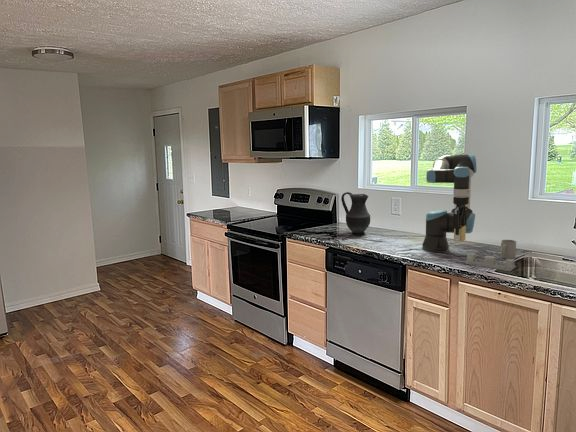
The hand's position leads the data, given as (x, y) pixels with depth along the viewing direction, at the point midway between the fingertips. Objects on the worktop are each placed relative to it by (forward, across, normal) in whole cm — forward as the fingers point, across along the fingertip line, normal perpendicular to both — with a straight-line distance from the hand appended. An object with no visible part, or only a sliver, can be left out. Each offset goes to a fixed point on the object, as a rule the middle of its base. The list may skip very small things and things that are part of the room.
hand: (459, 239), depth 225 cm
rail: (+11, -1, -16) cm, 20 cm away
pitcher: (+13, +22, +82) cm, 86 cm away
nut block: (0, 0, 0) cm, 0 cm away
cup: (+12, +20, -18) cm, 30 cm away
